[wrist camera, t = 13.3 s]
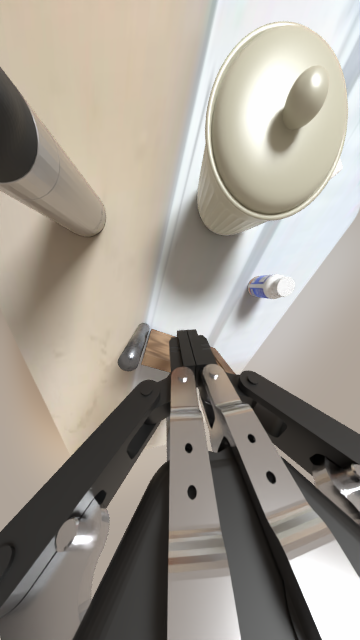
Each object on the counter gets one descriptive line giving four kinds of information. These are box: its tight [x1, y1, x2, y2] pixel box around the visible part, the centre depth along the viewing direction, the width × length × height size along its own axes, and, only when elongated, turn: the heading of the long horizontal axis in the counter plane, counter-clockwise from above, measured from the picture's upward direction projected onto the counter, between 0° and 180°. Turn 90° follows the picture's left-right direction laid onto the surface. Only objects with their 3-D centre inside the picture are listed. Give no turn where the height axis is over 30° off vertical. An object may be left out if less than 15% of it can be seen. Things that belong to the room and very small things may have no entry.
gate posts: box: [118, 323, 170, 461], centre depth 33 cm, size 26×3×17 cm, turn 17°
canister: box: [197, 21, 348, 236], centre depth 23 cm, size 18×18×21 cm
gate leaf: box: [141, 329, 235, 374], centre depth 32 cm, size 19×2×15 cm, turn 68°
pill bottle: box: [248, 274, 295, 299], centre depth 34 cm, size 5×5×10 cm
